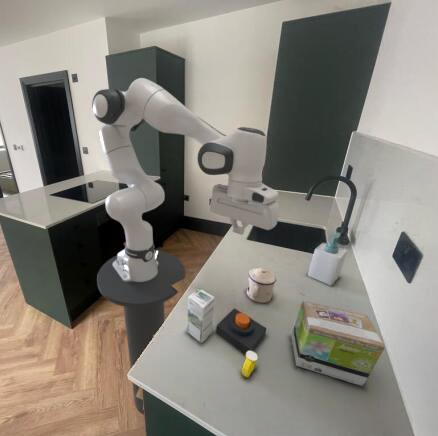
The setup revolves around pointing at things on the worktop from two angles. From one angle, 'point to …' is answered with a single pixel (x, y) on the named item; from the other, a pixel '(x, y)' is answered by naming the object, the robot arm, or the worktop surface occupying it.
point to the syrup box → (200, 314)
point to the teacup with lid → (260, 285)
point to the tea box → (335, 342)
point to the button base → (240, 332)
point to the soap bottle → (327, 261)
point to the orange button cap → (242, 320)
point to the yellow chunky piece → (249, 363)
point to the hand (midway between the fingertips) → (238, 232)
